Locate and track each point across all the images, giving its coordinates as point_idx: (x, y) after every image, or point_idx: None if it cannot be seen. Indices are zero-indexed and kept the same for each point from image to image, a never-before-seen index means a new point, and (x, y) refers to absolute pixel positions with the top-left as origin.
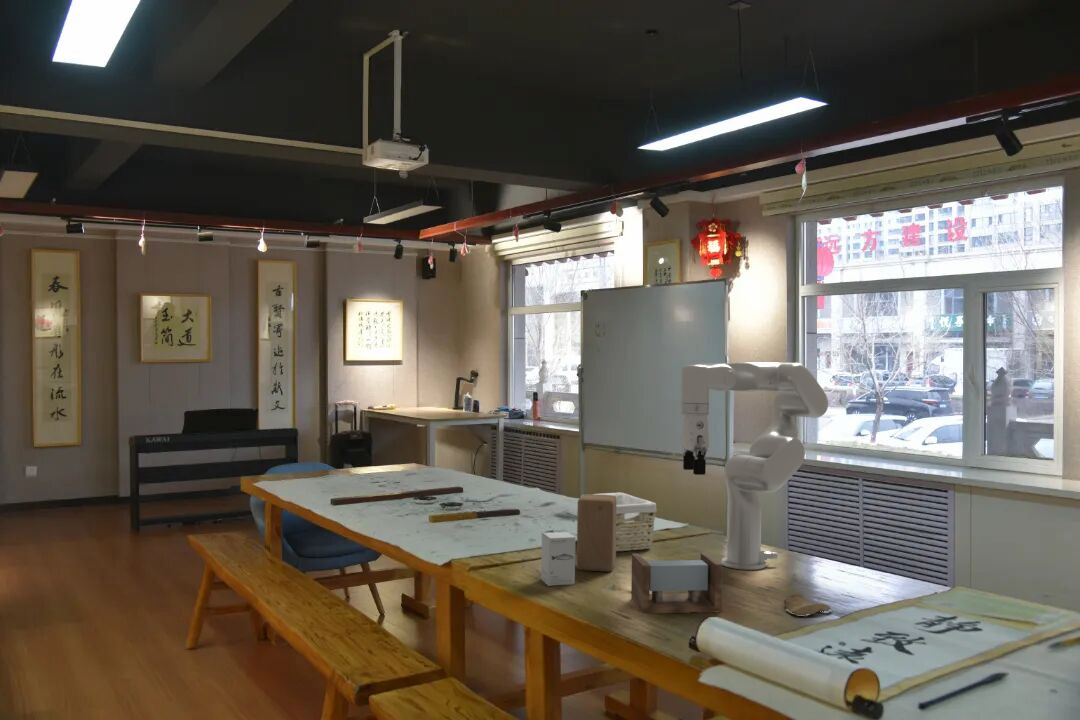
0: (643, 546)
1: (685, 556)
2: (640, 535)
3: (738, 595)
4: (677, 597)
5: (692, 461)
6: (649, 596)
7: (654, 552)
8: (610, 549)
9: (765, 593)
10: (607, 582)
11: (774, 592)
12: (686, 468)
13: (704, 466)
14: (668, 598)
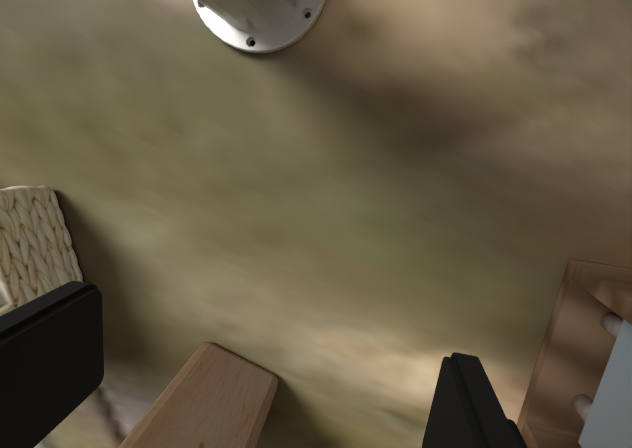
0: (56, 213)
1: (136, 121)
2: (31, 231)
3: (580, 162)
4: (588, 350)
5: (32, 358)
6: (554, 405)
7: (88, 190)
8: (264, 418)
9: (591, 70)
10: (363, 415)
11: (591, 34)
12: (96, 369)
13: (500, 428)
14: (589, 373)
